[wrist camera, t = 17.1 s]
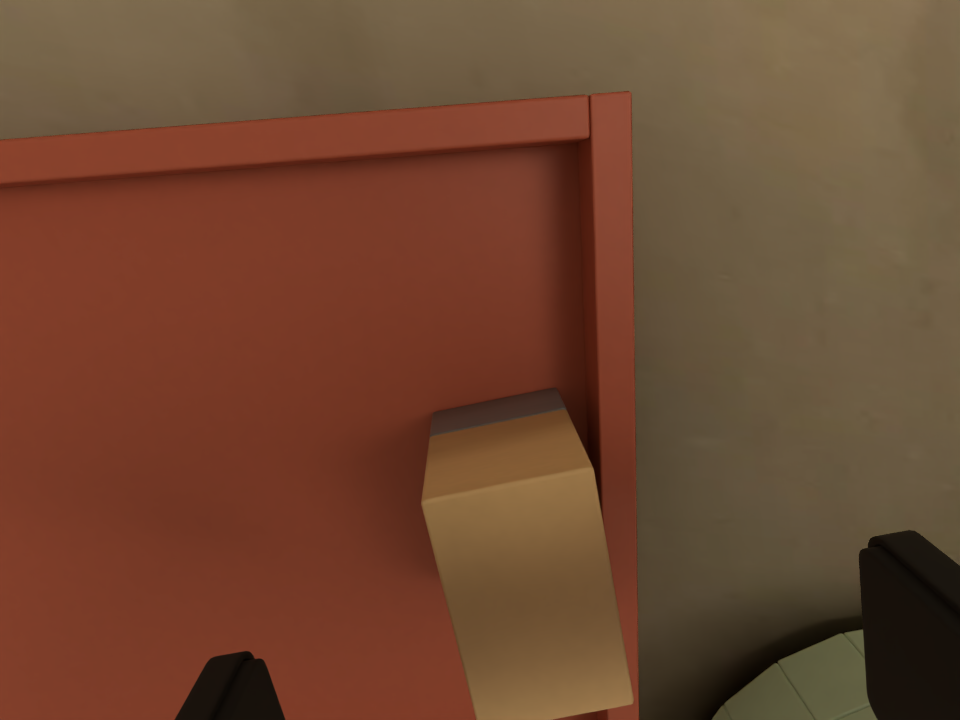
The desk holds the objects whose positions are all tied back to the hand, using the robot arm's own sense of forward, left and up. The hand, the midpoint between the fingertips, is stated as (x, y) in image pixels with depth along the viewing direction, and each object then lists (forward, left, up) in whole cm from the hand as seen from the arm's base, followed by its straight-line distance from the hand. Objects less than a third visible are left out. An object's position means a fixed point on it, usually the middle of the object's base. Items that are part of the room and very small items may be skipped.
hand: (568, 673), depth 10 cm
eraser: (0, 0, -6) cm, 6 cm away
